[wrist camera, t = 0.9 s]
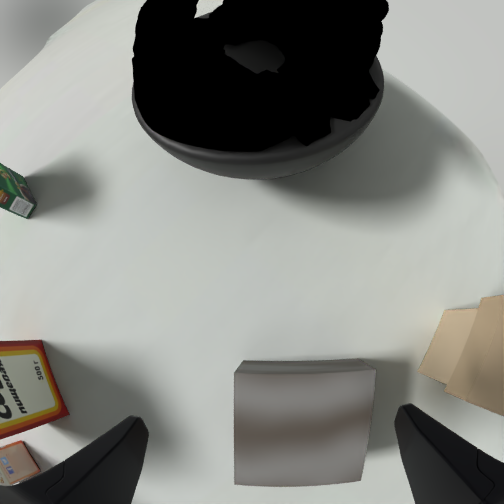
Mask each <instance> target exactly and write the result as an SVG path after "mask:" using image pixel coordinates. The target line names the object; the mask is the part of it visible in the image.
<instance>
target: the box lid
mask: <svg viewBox="0 0 504 504" xmlns="http://www.w3.org/2000/svg"><path fill="white" fill-rule="evenodd" d="M444 392H447V393H449V394H451V395H453V396H455V397H458V398H460V399H462V400H464V401H467V402H469V403H472V404H474V405H477V406H479V407H482V408H484V409H487V410H489V411H492V412H494V413H497V414H499V415H502V416H504V295H500V296H492V297H484V298H481V302H480V305H479V308H478V311H477V314H476V317H475V320H474V323H473V326H472V328H471V331H470V334H469V336H468V339H467V342H466V344H465V347H464V349H463V351H462V354H461V356H460V358H459V361H458V363H457V365H456V367H455V369H454V372H453V374H452V376H451V378H450V380H449V382H448V384H447V386H446V388H445V390H444Z"/></svg>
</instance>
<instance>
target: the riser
mask: <svg viewBox="0 0 504 504" xmlns="http://www.w3.org/2000/svg"><path fill="white" fill-rule="evenodd" d="M375 378H376V369H375V368H373V367H371V366H370V365H368V364H366V363H365V362H363V361H361V360H360V359H358V358H357V359H343V360H322V361H243V362H242V363H241V364H240V366H239V367H238V368H237V370H236V371H235V372H234V485H247V486H268V487H296V486H317V485H330V484H340V483H348V482H355V481H361V477H362V472H363V467H364V462H365V457H366V451H367V445H368V439H369V433H370V426H371V418H372V410H373V401H374V390H375Z"/></svg>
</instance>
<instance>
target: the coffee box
mask: <svg viewBox="0 0 504 504" xmlns="http://www.w3.org/2000/svg"><path fill="white" fill-rule="evenodd" d="M36 205H37V204H36V202H35V200H34V198H33V196H32V194H31V192H30V190H29V188H28V186H27V183H26V181H25V180H24V177H23V176H21V175H19V174H18V173H16V172H14V171H13V170H11V169H10V168H8V167H6V166H4V165H3V164H1V163H0V207H1V208H3V209H5V210H7V211H9V212H12V213H14V214H16V215H18V216H21V217H24V218H26V219H28V218H29V216H30V214H31V213H32V211H33V210H34V208H35V207H36Z"/></svg>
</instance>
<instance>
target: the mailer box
mask: <svg viewBox="0 0 504 504" xmlns="http://www.w3.org/2000/svg"><path fill="white" fill-rule="evenodd" d="M477 311H478V308H476V309H458V310H444V313H443V315H442V318H441V321H440V323H439V326H438V328H437V330H436V333H435V335H434V337H433V340H432V342H431V344H430V346H429V349H428V351H427V353H426V355H425V357H424V359H423V361H422V363H421V365H420V367H419V369H418V371H417V372H419V373H421V374H423V375H425V376H428V377H430V378H432V379H434V380H436V381H439V382H441V383H443V384H445V385H447V384H448V382H449V380H450V378H451V376H452V374H453V372H454V369H455V367H456V365H457V363H458V361H459V358H460V356H461V354H462V351H463V349H464V347H465V344H466V342H467V339H468V336H469V334H470V331H471V328H472V326H473V323H474V320H475V317H476V314H477Z"/></svg>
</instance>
